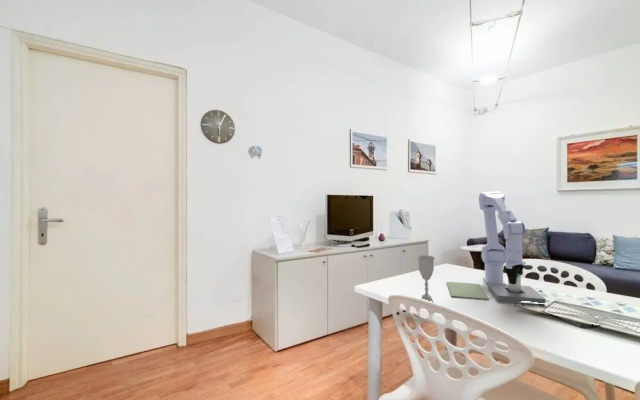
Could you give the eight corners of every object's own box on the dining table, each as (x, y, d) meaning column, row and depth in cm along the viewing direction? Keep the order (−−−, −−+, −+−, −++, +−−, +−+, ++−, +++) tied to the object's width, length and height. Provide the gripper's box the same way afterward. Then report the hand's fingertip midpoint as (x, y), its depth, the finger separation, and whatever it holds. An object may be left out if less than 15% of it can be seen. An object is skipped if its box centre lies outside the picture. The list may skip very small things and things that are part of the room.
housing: (488, 288, 131) (488, 283, 131) (530, 291, 126) (530, 286, 126) (497, 301, 116) (497, 295, 116) (545, 305, 110) (545, 299, 110)
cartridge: (506, 290, 121) (506, 274, 121) (510, 288, 124) (510, 272, 124) (519, 293, 118) (518, 276, 117) (522, 290, 120) (522, 273, 120)
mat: (446, 282, 141) (446, 281, 141) (478, 285, 136) (478, 283, 136) (451, 297, 122) (451, 295, 122) (488, 300, 118) (488, 298, 118)
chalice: (437, 304, 114) (436, 259, 114) (419, 303, 116) (418, 259, 115) (433, 297, 122) (432, 255, 121) (417, 297, 123) (416, 255, 123)
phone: (556, 305, 108) (601, 323, 93) (556, 308, 108) (601, 326, 93) (538, 307, 107) (581, 325, 92) (538, 310, 107) (582, 329, 92)
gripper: (520, 254, 112) (520, 288, 113) (530, 248, 122) (530, 280, 122) (499, 251, 118) (500, 284, 118) (510, 246, 127) (511, 277, 128)
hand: (514, 282), depth 121 cm, fingers closed on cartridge, 4 cm apart
